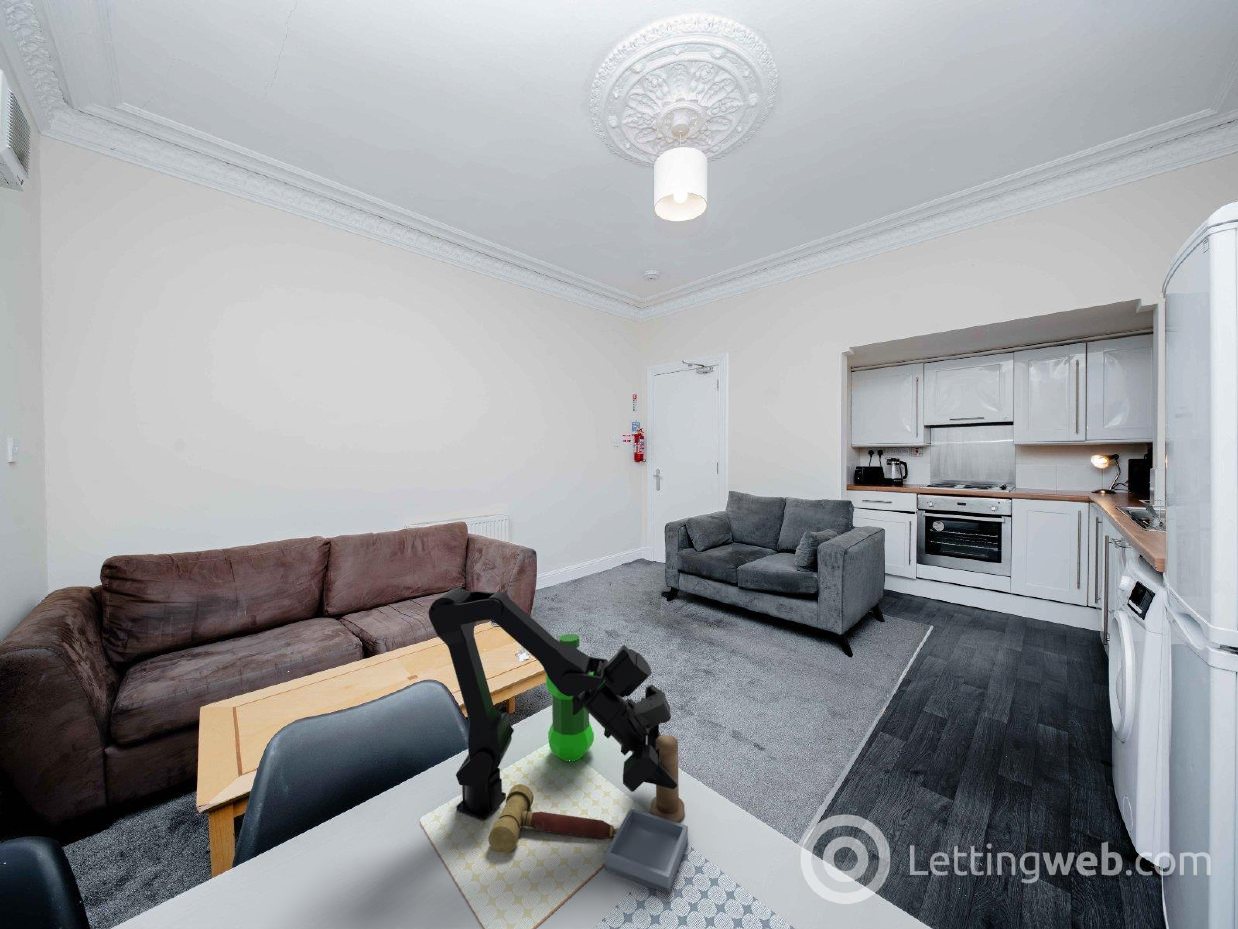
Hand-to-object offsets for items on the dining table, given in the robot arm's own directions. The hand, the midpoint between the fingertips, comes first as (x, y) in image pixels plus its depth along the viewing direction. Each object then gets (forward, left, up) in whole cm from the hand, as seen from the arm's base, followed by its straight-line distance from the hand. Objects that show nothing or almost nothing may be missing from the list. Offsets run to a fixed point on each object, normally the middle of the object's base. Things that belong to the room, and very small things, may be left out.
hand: (674, 774), depth 83 cm
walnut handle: (-1, 0, -7) cm, 7 cm away
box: (-1, -10, -7) cm, 12 cm away
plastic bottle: (-25, +7, -7) cm, 27 cm away
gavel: (-17, -12, -7) cm, 22 cm away
